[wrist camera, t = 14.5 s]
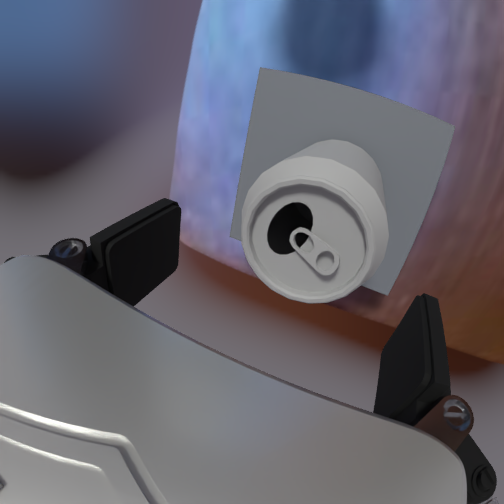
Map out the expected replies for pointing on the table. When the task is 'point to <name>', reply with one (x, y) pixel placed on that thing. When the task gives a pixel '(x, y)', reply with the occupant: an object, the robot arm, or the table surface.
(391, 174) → the grey block
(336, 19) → the table surface
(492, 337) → the table surface
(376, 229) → the can
